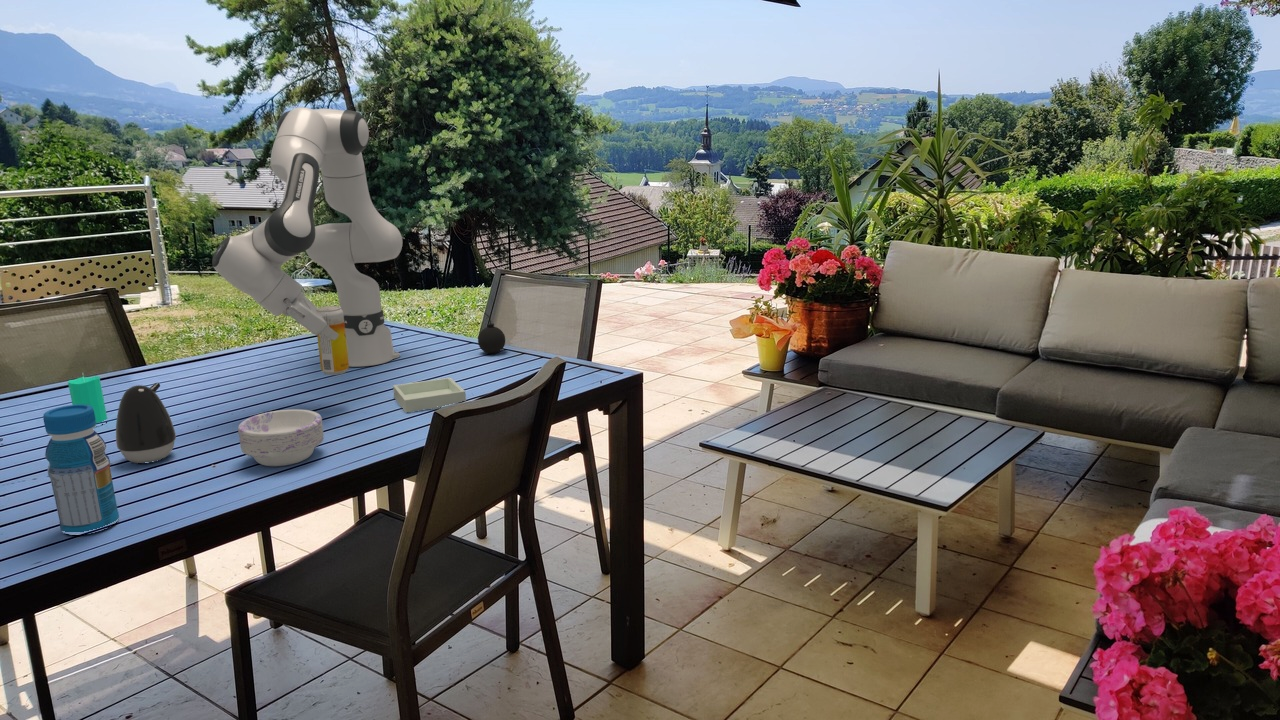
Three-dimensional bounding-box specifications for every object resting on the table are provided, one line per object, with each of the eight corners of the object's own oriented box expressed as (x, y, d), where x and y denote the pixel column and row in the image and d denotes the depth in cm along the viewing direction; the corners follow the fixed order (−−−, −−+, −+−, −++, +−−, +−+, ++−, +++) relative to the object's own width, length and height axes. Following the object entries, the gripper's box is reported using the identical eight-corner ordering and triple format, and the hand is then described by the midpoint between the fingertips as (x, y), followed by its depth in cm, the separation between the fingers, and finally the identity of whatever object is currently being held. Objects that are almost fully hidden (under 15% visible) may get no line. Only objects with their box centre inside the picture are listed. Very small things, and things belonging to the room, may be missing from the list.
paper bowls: (323, 466, 163) (319, 427, 161) (237, 477, 159) (231, 437, 157) (328, 441, 177) (323, 404, 176) (249, 450, 173) (243, 412, 171)
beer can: (353, 368, 199) (347, 305, 195) (342, 375, 194) (335, 311, 190) (328, 368, 200) (321, 305, 196) (316, 375, 194) (309, 310, 190)
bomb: (509, 350, 251) (507, 310, 248) (500, 357, 244) (498, 315, 241) (484, 349, 253) (481, 310, 250) (474, 356, 245) (471, 315, 242)
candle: (114, 421, 194) (104, 370, 191) (90, 429, 188) (80, 377, 185) (94, 419, 195) (85, 368, 192) (70, 427, 190) (59, 375, 187)
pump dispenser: (191, 451, 173) (179, 379, 169) (152, 470, 163) (138, 394, 160) (148, 448, 175) (136, 377, 172) (107, 466, 166) (93, 392, 162)
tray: (394, 397, 207) (393, 385, 206) (451, 389, 213) (450, 377, 212) (406, 413, 195) (404, 400, 194) (466, 404, 201) (465, 391, 200)
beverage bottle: (69, 543, 134) (44, 422, 129) (53, 528, 139) (28, 411, 134) (128, 524, 140) (107, 408, 135) (110, 511, 145) (89, 399, 140)
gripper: (296, 292, 179) (350, 332, 186) (288, 278, 197) (337, 315, 204) (276, 315, 179) (331, 355, 185) (270, 299, 196) (319, 335, 203)
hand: (334, 334), depth 195 cm, fingers closed on beer can, 6 cm apart
